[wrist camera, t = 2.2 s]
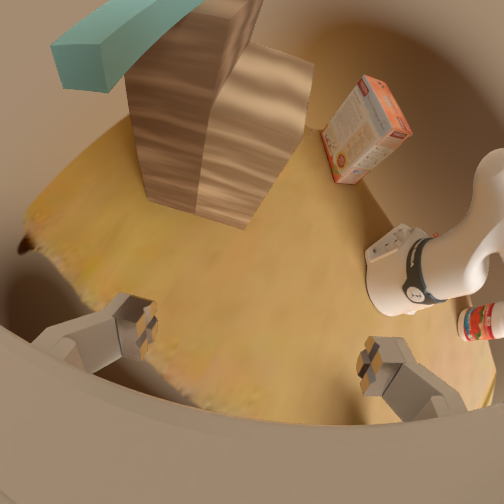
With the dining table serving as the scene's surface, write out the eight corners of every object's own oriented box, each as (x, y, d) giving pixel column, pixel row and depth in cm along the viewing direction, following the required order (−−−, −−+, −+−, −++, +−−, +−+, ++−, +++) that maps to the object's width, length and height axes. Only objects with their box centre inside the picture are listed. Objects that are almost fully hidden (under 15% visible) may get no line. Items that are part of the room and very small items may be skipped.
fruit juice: (470, 341, 56) (548, 332, 30) (455, 340, 55) (541, 330, 29) (472, 310, 59) (548, 293, 33) (457, 306, 58) (541, 287, 31)
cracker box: (355, 185, 58) (414, 134, 38) (333, 183, 56) (391, 127, 37) (340, 136, 61) (386, 81, 41) (319, 132, 60) (363, 72, 40)
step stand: (244, 230, 48) (352, 64, 15) (147, 200, 46) (118, 7, 12) (262, 163, 53) (347, 9, 19) (177, 137, 50) (194, -33, 17)
